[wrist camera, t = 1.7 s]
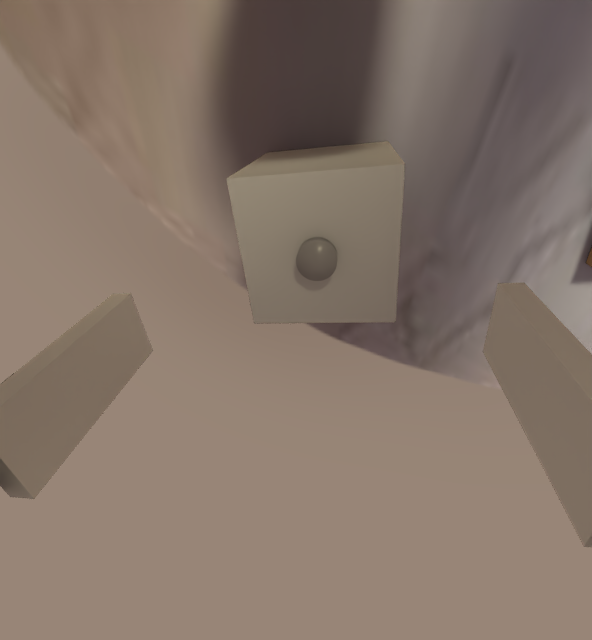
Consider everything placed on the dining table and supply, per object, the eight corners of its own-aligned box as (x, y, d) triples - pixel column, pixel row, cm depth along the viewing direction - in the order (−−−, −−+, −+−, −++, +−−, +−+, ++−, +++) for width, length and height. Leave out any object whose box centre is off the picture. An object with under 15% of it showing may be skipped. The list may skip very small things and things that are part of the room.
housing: (267, 152, 24) (220, 182, 16) (387, 141, 23) (407, 166, 14) (281, 261, 28) (250, 331, 20) (383, 257, 27) (397, 330, 18)
